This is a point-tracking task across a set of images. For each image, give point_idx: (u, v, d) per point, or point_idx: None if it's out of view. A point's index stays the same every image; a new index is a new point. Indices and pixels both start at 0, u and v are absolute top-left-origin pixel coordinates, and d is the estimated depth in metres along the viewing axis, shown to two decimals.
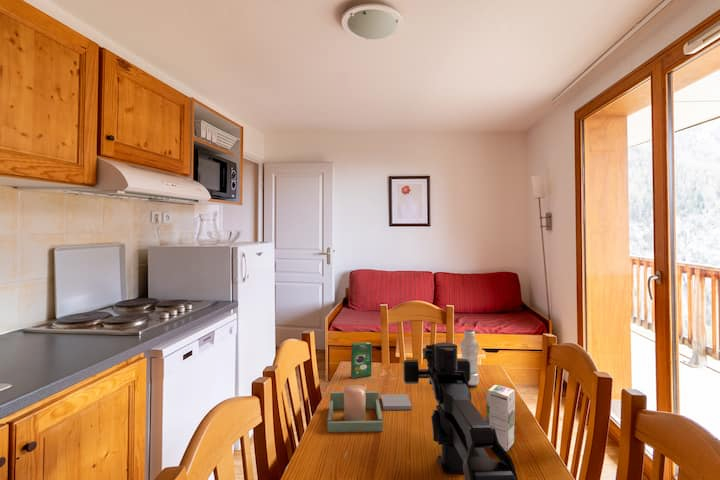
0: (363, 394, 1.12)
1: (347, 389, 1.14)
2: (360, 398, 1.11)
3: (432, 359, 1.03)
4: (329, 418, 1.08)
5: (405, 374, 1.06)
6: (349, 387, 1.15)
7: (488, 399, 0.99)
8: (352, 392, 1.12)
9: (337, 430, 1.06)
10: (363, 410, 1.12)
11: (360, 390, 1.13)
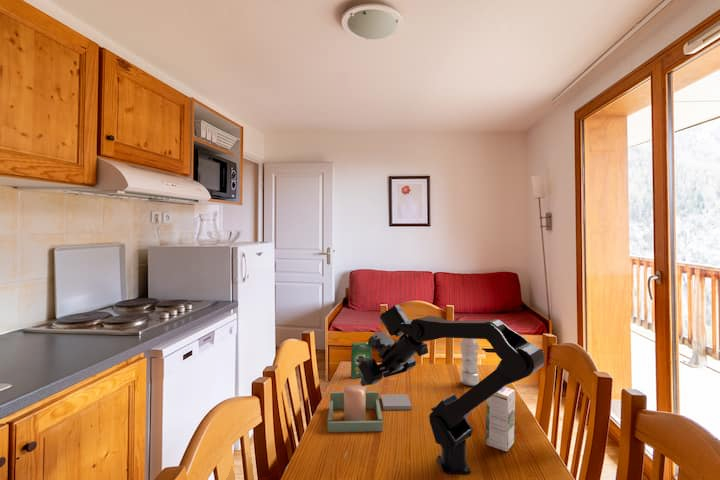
0: (363, 394, 1.12)
1: (347, 389, 1.14)
2: (360, 398, 1.11)
3: (382, 342, 1.03)
4: (329, 418, 1.08)
5: (368, 370, 0.97)
6: (349, 387, 1.15)
7: (488, 399, 0.99)
8: (352, 392, 1.12)
9: (337, 430, 1.06)
10: (363, 410, 1.12)
11: (360, 390, 1.13)
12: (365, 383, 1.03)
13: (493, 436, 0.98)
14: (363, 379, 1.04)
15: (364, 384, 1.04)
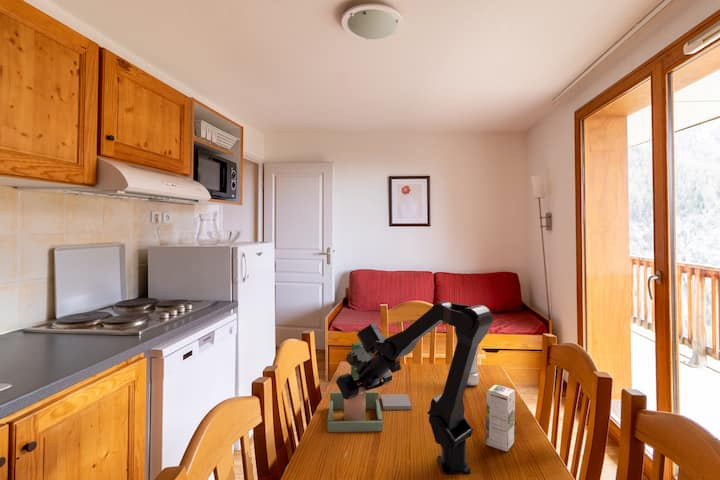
0: (363, 394, 1.12)
1: None
2: (360, 398, 1.11)
3: (359, 359, 1.10)
4: (329, 418, 1.08)
5: (345, 386, 1.04)
6: None
7: (488, 399, 0.99)
8: None
9: (337, 430, 1.06)
10: (363, 410, 1.12)
11: (360, 390, 1.13)
12: None
13: (493, 436, 0.98)
14: None
15: None
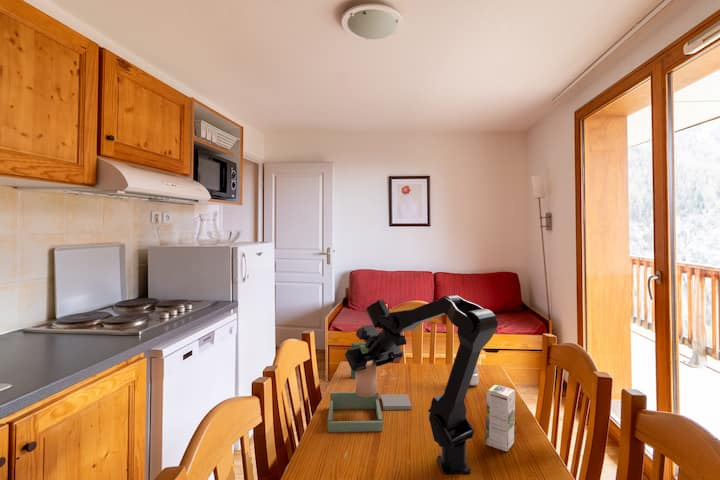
0: (373, 369, 1.16)
1: None
2: (370, 373, 1.15)
3: (368, 334, 1.13)
4: (329, 418, 1.08)
5: (352, 358, 1.08)
6: None
7: (488, 399, 0.99)
8: None
9: (337, 430, 1.06)
10: (373, 384, 1.16)
11: (370, 365, 1.17)
12: (356, 369, 1.14)
13: (493, 436, 0.98)
14: None
15: (356, 370, 1.15)
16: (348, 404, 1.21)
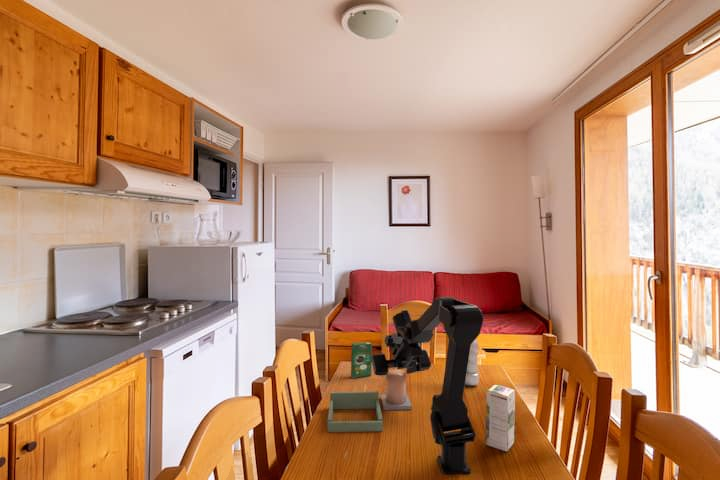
0: (401, 378, 1.22)
1: (389, 372, 1.25)
2: (397, 382, 1.21)
3: (394, 342, 1.20)
4: (329, 418, 1.08)
5: (375, 363, 1.17)
6: (392, 370, 1.26)
7: (488, 399, 0.99)
8: (391, 375, 1.22)
9: (337, 430, 1.06)
10: (401, 393, 1.22)
11: (399, 374, 1.23)
12: None
13: (493, 436, 0.98)
14: None
15: (381, 375, 1.23)
16: (348, 404, 1.21)
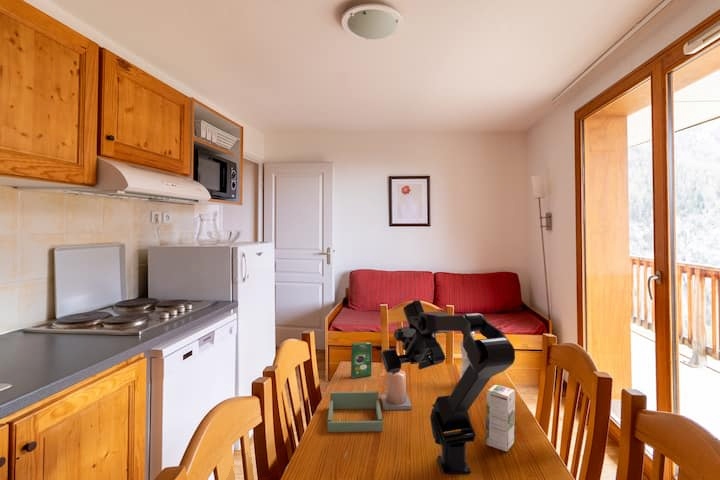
0: (401, 378, 1.22)
1: None
2: (397, 382, 1.21)
3: (405, 335, 1.11)
4: (329, 418, 1.08)
5: (386, 359, 1.07)
6: None
7: (488, 399, 0.99)
8: (391, 375, 1.22)
9: (337, 430, 1.06)
10: (401, 393, 1.22)
11: (399, 374, 1.23)
12: None
13: (493, 436, 0.98)
14: None
15: (392, 373, 1.14)
16: (348, 404, 1.21)
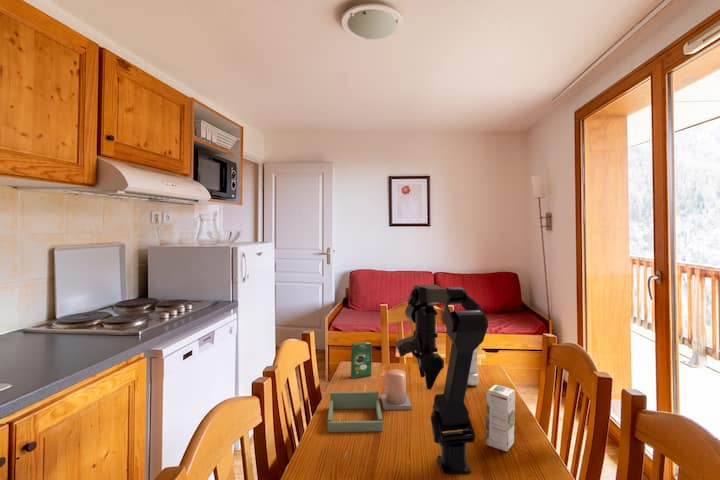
0: (401, 378, 1.22)
1: (389, 372, 1.25)
2: (397, 382, 1.21)
3: (410, 341, 1.06)
4: (329, 418, 1.08)
5: (433, 358, 0.99)
6: (392, 371, 1.26)
7: (488, 399, 0.99)
8: (391, 375, 1.22)
9: (337, 430, 1.06)
10: (401, 393, 1.22)
11: (399, 374, 1.23)
12: (433, 381, 1.03)
13: (493, 436, 0.98)
14: (428, 380, 1.03)
15: (432, 383, 1.03)
16: (348, 404, 1.21)
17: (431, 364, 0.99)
